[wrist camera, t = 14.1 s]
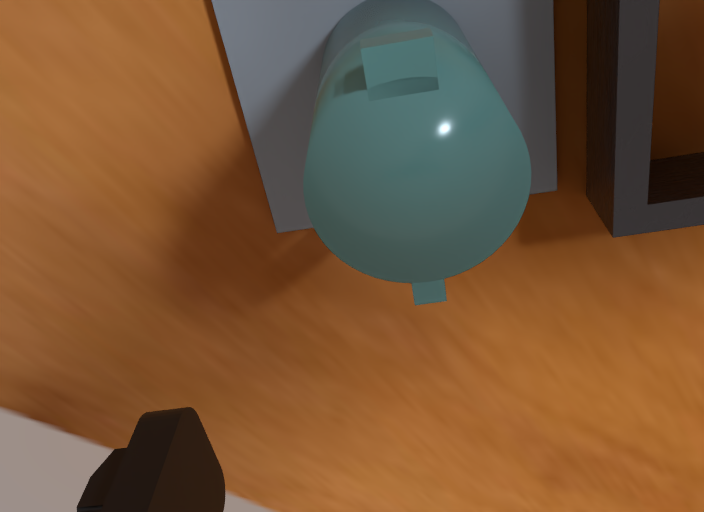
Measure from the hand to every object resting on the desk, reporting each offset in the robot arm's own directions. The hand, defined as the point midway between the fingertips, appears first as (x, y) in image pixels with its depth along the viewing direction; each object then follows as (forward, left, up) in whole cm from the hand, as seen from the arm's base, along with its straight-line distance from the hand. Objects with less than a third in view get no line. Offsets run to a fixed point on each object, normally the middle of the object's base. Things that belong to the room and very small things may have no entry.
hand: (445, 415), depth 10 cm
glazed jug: (0, -1, -17) cm, 17 cm away
